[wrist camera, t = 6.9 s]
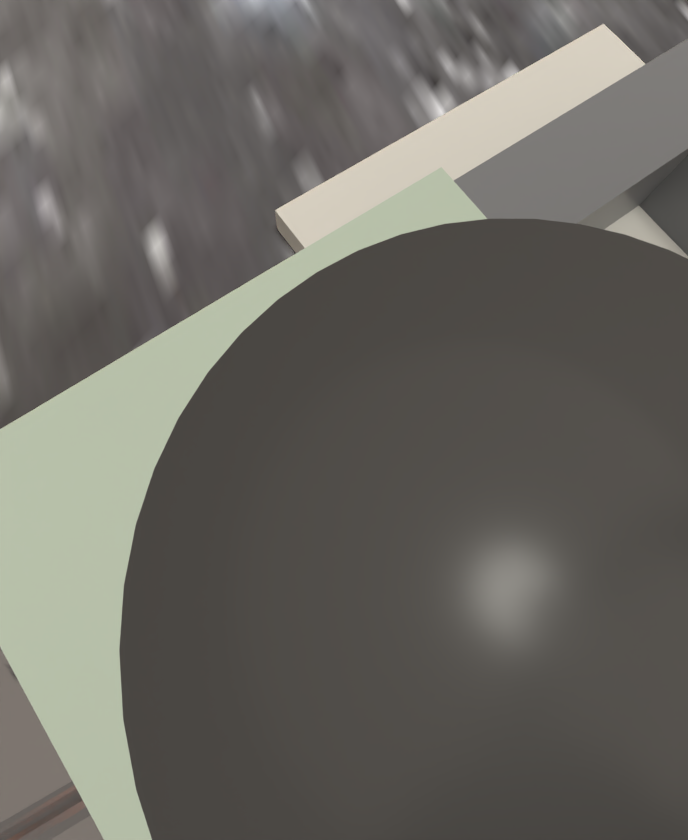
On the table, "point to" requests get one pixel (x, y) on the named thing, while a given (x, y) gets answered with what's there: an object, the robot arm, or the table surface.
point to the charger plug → (373, 545)
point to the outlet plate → (471, 139)
